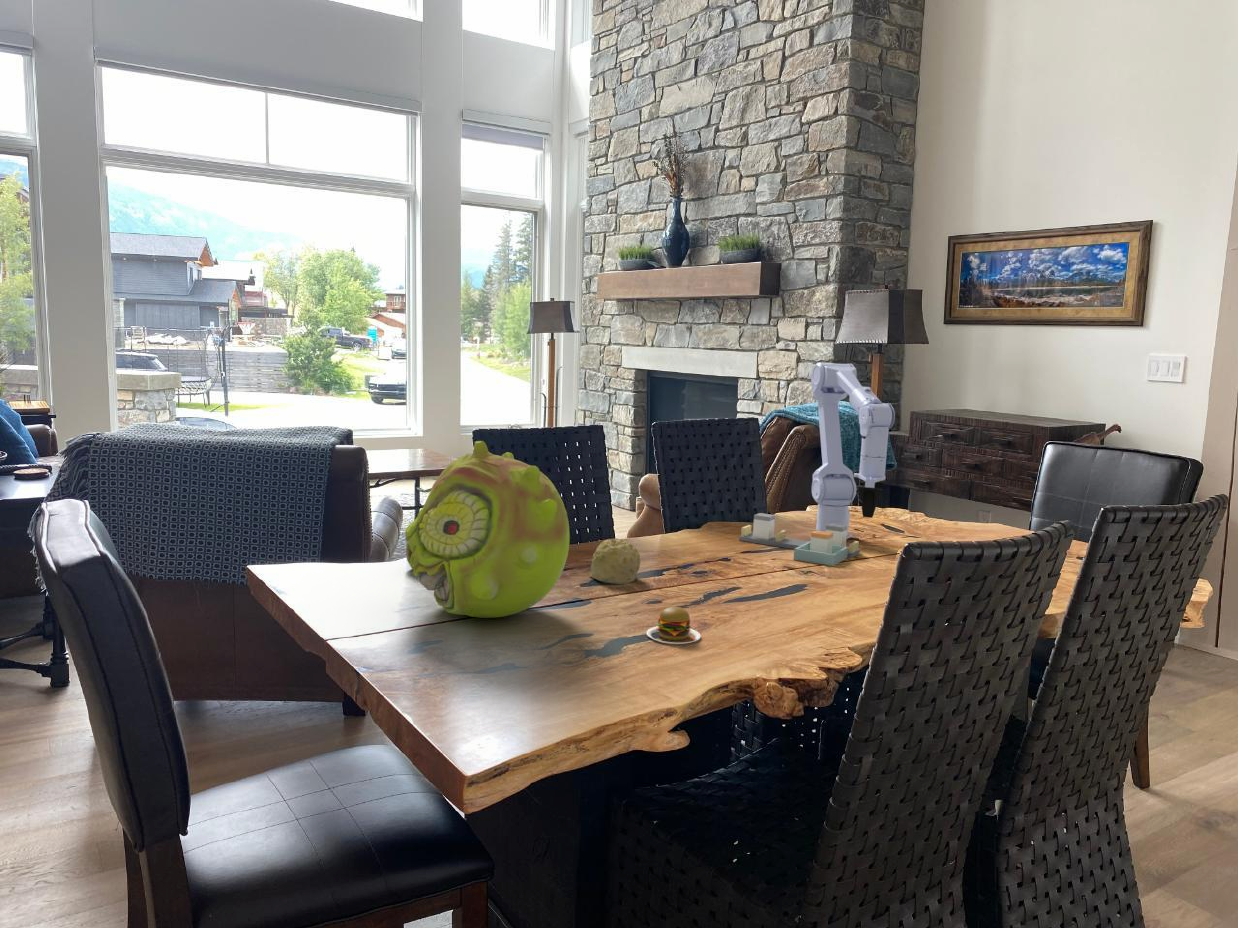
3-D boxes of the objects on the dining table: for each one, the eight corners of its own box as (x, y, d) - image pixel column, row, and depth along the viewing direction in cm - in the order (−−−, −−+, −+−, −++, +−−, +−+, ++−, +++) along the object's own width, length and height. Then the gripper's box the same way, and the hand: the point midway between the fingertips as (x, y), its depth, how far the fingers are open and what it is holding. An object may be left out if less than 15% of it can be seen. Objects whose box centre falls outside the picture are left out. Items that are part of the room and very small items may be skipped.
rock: (630, 589, 196) (617, 544, 199) (654, 574, 187) (640, 527, 190) (589, 598, 192) (576, 551, 194) (611, 583, 182) (597, 534, 185)
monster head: (392, 594, 173) (394, 430, 169) (538, 586, 183) (544, 430, 178) (418, 648, 144) (421, 452, 140) (590, 635, 154) (598, 452, 150)
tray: (808, 551, 223) (809, 541, 222) (847, 557, 218) (848, 547, 218) (793, 559, 214) (794, 548, 214) (833, 566, 210) (834, 555, 209)
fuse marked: (814, 553, 219) (816, 530, 218) (831, 556, 217) (833, 532, 216) (809, 556, 216) (811, 532, 215) (826, 559, 214) (828, 535, 213)
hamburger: (656, 655, 148) (657, 621, 147) (624, 632, 159) (626, 600, 158) (723, 648, 153) (725, 615, 152) (688, 626, 163) (690, 595, 163)
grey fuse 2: (829, 545, 226) (830, 523, 225) (845, 548, 224) (847, 525, 223) (824, 548, 223) (825, 525, 222) (840, 550, 221) (842, 527, 220)
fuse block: (749, 536, 237) (749, 524, 237) (859, 553, 223) (860, 540, 223) (738, 540, 232) (739, 528, 232) (851, 558, 218) (852, 545, 218)
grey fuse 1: (758, 534, 235) (759, 512, 234) (773, 537, 233) (775, 515, 232) (752, 537, 232) (754, 515, 231) (768, 539, 230) (769, 517, 229)
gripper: (857, 451, 225) (853, 507, 227) (853, 458, 212) (848, 518, 214) (888, 453, 223) (883, 510, 225) (886, 460, 210) (881, 521, 211)
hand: (868, 514), depth 219 cm, fingers open, 7 cm apart
